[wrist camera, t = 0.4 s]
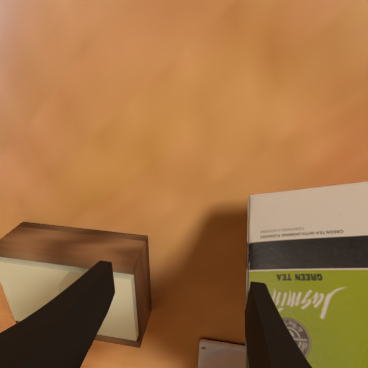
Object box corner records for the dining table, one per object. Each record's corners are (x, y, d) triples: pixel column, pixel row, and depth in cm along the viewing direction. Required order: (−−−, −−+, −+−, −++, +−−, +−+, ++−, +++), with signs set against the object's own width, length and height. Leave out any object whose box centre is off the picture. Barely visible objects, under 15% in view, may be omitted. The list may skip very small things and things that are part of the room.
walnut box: (147, 235, 25) (133, 267, 21) (151, 310, 29) (139, 347, 25) (22, 221, 26) (-12, 248, 23) (43, 294, 31) (17, 326, 27)
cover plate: (133, 273, 22) (123, 295, 20) (138, 334, 25) (130, 358, 23) (-1, 255, 24) (-23, 274, 22) (19, 314, 27) (2, 335, 25)
